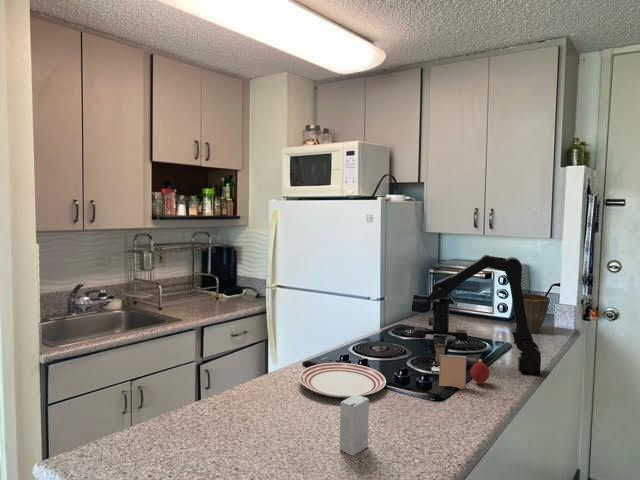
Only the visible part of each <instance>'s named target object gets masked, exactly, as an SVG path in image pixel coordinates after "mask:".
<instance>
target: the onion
mask: <svg viewBox="0 0 640 480" xmlns="http://www.w3.org/2000/svg"><path fill="white" fill-rule="evenodd" d="M470 376H471V379H472V380H473V381H475V383H476V384H477V385H482V384H484V383H485V382H486V381H488V379H489V378H490V370H489V368H488V366H487V365H486V364H485V363H484V362H483V360H482V359H478V361H477V362H476V363H474V364H473V365H472V366H471V367H470Z"/></svg>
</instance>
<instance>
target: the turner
mask: <svg viewBox="0 0 640 480" xmlns="http://www.w3.org/2000/svg"><path fill="white" fill-rule="evenodd" d="M435 351H436V357H434V360H435V361H436V362H440V354H441V355H444V351H445V344H444V343H435ZM435 361H434V362H435ZM432 371H439V366H438V367H435V366H433V367H431V372H432Z"/></svg>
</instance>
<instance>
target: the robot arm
mask: <svg viewBox="0 0 640 480" xmlns="http://www.w3.org/2000/svg"><path fill="white" fill-rule="evenodd" d="M487 268H490V269H493V270H497V271H501V272H504V273H505V276H506V279H507V282H508V285H509V288H510V293H511V294H510V295H511V300H512V308H513V314H514V319H515V327H512V328H511V333H512V337H513V338H512V340H513V345H515V346H516V348H517V349H518V351H520V352H519V356H518V357H517V368H516V369H517V370H518V371H519V373H520V374H521V375H527V376H541V377H542V373H541V363H542V362H541V361H542V356H541V355H542V353H541V349H540V346H539V345H538V344H537V343H536V342H535V341H534V338H533V336H532V333H531V332H530V329H529V327H528V324H527V318H526V312H525V306H524V300H523V294H524V293H523V289H522V287H523V286H522V277H523V276H522V274H523V265H522V263H521V261H520V259H518V258H517V257H513V256H510V257H507V258H505V257H498V256H493V255H492V256H491V255H488V254H485V255H483V256H481V257H480V258H479V259H477V260H476V261H473V262H472V263H471V264H469V265H468V266H466V267H464V268H462V269H461V270H460V271H458V272H456V273H455V274H452V275H449V276H447V277H444V278H441V279H439V280H437V281H436V282H435V283H434V285H433V287H432V291H431V292H430V293H429V294H428V295H425V294H424V295H423V294H417V293H414V294H413V296H412V297H413V298H412V304H411V313H413V314H423V315H424V314H427V315H428V314H429V312H432V316H431V317H430V316H429V317H428V319H427V320H428V323H427V325H428V327H431V330H429V329H428V330H426V326H425V327H423V326H422V327H421V326H415V327H414V329H413V330H414V331H413V334H414V335H413V338H415V339H425V341H426V342H428V343H429V345H430V347H431V350H432V353H433V356H434V358H435V357H436V351H435V348H436V343H435V337H445V342H444V343H445V344H444V348H445V351H444V355H448V352H449V349H450V348H451V346H452V345H453V344H454V343H456V340H457V341H459V342H468V337H469V335H468V331H467V330H466V329H457V328H456V329H455V330H454V331H449V329H450V305H455V303H456V301H455V300H454V299H453V297H452V296H448V295H450V294H451V293H452V292H453V291H454V290H455V289H456V288H457V287H458V286H459V285H461V284H463V283H464V282H466V281H468V279H470V278H472V277H474V276H475V275H477V274H479V273H481V272H482V271H484V270H485V269H487ZM447 296H448V297H447ZM446 297H447V298H446ZM438 298H439V299H438Z"/></svg>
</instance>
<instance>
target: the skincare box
mask: <svg viewBox="0 0 640 480" xmlns="http://www.w3.org/2000/svg"><path fill="white" fill-rule="evenodd" d="M339 409H340V411H339V413H340V415H339V451H340V450H342V451H345V452H347V453H349V454H351V455H354V456H356V455H357V454H359V453H360V452H362V451H363V450H365V449H366V448H368V447H369V416H370V415H369V414H370V413H369V412H370V399H369V398H368V397H365V396H359V395H353V396H351V397H350V398H345V399H344V400H342V401H341V402H340V408H339ZM342 451H341V452H342ZM358 452H359V453H358ZM356 453H357V454H356ZM355 454H356V455H355ZM351 455H350V456H351Z"/></svg>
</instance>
